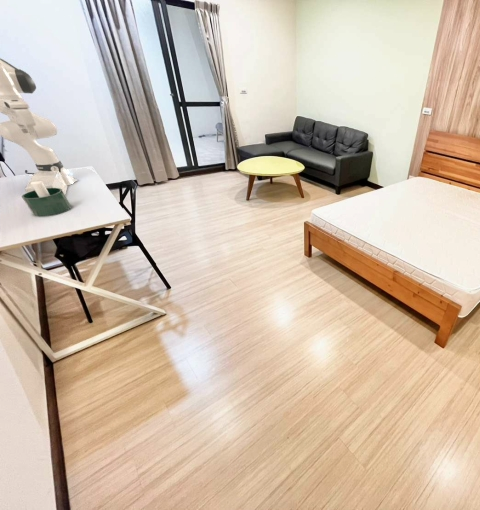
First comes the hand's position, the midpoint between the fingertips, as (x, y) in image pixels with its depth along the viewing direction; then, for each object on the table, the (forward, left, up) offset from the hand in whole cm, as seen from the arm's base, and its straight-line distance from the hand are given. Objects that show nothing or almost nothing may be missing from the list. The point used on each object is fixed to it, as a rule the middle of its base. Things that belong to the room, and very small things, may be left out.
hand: (29, 134), depth 134 cm
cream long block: (-19, -1, -37) cm, 42 cm away
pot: (+4, -9, -37) cm, 38 cm away
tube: (+4, -9, -37) cm, 38 cm away
